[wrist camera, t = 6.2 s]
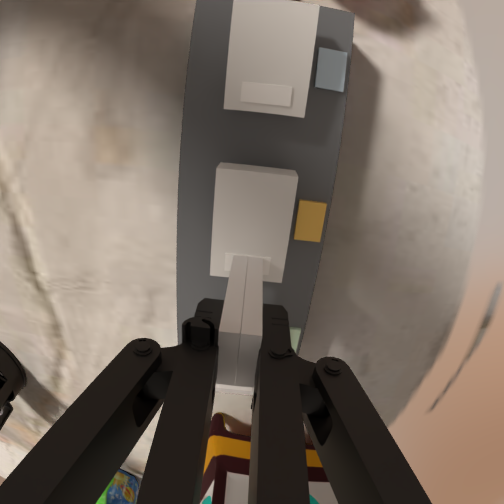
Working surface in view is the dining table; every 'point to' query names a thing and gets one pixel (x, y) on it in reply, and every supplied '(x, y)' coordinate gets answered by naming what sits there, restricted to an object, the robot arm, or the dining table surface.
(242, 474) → the decorative lantern
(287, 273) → the power strip
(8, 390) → the french press
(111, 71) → the dining table surface
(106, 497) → the snack cup
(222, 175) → the plate
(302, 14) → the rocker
